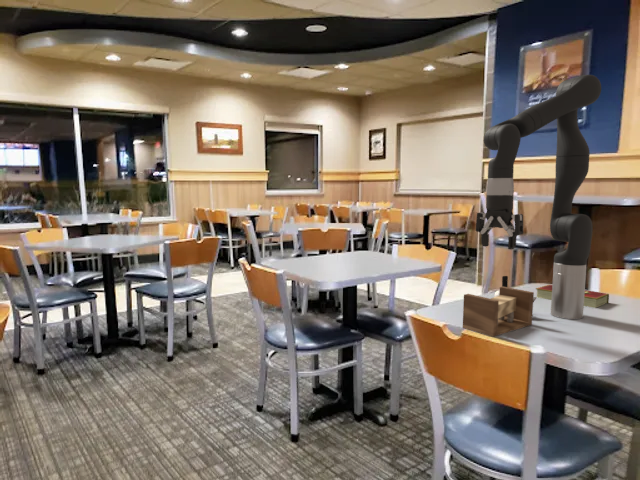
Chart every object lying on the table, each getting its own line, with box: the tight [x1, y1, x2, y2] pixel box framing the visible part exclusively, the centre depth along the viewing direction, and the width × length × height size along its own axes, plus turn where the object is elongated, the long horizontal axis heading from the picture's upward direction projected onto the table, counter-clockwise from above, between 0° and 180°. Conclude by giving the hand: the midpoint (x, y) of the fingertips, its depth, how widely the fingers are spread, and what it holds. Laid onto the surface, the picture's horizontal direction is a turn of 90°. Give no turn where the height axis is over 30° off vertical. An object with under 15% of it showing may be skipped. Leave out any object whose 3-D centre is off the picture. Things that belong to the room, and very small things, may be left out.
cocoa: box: [493, 275, 509, 298], centre depth 151 cm, size 10×6×12 cm, turn 145°
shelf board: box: [490, 295, 516, 318], centre depth 132 cm, size 14×5×4 cm, turn 135°
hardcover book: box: [535, 284, 610, 309], centre depth 166 cm, size 12×21×4 cm, turn 40°
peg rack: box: [462, 286, 535, 338], centre depth 133 cm, size 20×10×10 cm, turn 125°
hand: (498, 247), depth 134 cm, fingers open, 8 cm apart
